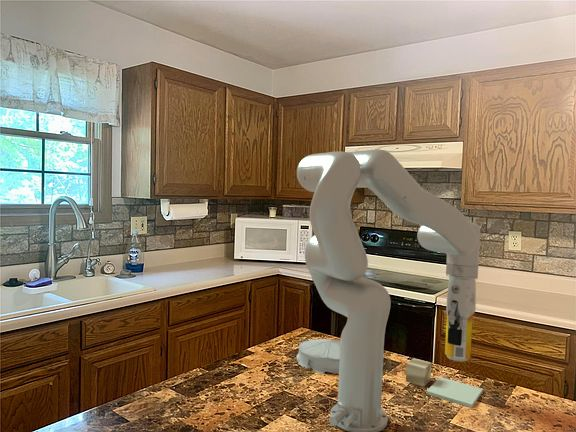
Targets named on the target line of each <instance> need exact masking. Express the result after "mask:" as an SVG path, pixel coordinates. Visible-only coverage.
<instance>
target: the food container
mask: <svg viewBox="0 0 576 432" xmlns="http://www.w3.org/2000/svg"><path fill="white" fill-rule="evenodd" d="M296 361H297V362H298V364H299V365H300V366H301V367H302V368H304V367H305V368H304V369H307V370H308V369H309V370H310V369H312V371H313V372H314V373H318V374H326V373H325V372H327V373H331V374H338V375H339V361H340V340H336V339H327V338H315V339H310V340H303V341H301V342H300V344H299V345H298V353H297V354H296Z"/></svg>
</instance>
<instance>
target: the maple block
mask: <svg viewBox="0 0 576 432" xmlns="http://www.w3.org/2000/svg"><path fill="white" fill-rule="evenodd" d="M431 371H432V362H430V361H427V360H426V361H425V360H422V359H418V358H415V357H413V358H412V359H411V360H409V361H408V362H407V363H406V370H405V382H408V383H411V384H415V385H416V386H417V385H418V386H421V387H425V386H426V385H428V383H429V382H430V381H431V376H432V375H431V373H432V372H431Z"/></svg>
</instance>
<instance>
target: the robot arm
mask: <svg viewBox="0 0 576 432" xmlns="http://www.w3.org/2000/svg"><path fill="white" fill-rule="evenodd" d="M296 178H297V181H298V183H299V184H300V186H301V187H302V188H303V189H305V190H306V191H307V192H311V193H313V196H312V199H311V202H310V207H309V214H308V215H309V221H310V225H311V229H312V231H313V234H314V235H313V236H311V237H310V238H309V240H308V241H307V243H306V245H305V249H304V261H305V264H306V267H307V270H308V272H309V274H310V276H311V279H312V281H313V283H314V286H315V287H316V290H317V292H318V294H319V297H320V298H321V301H323V303H324V304H325V306H326V307H327V308H329V309H330V310H332V311H334V312H336V313H337V314H340V315H342V316H344V317H346V318H347V321H346V323H345V325H344V327H343V329H342V331H341V335H340V339H339V341H340V361H339V374H338V386H337V387H338V389H337V403H336V404H334V405H333V406H332V407H331V409H330V411H329V412H330V413H329V414H330V415H329V416H330V417H329V418H328V422H329V425H331V426H332V427H336V426H337V427H338V428H341V429H342V430H343V431H347V432H381V431H383V430H384V429H385V428H386V427H387V425H388V421H389V419H388V415H387V413H386V412H385V411H384V410H383V409H382V393H383V390H382V389H383V371H384V369H383V368H384V351H385V350H384V346H385V335H386V328H387V327H386V326H387V322H388V319H389V315H390V310H391V306H392V305H391V303H392V302H391V301H392V299H391V297H390V296H391V295H390V293H389V292H388V290H387V288H385V287H384V286H383V284H381V283H380V282H377V281H376V280H374V279H370V278H367V277H363V276H364V275H365V274H366V272H367V270H368V266H369V262H368V261H369V259H368V255H367V253H366V250H365V247H364V245H363V242H362V240H361V237H360V235H359V233H358V230H357V228H356V225H355V222H354V220H353V217H352V212H351V202H352V198H353V196H354V193H355V191H356V189H357V188H358V189H360V188H361V189H362V188H364V189H369V190H370V191H372V193H374V194H375V196H377V197H378V198H379V200H380V201H381V202H383V204H384V205H385V206H387V208H388V209H390V212H391V211H392V213H393V214H394V215H395V216H396V217H397V216H398V217H399V218H401V219H403V220H406V221H408V222H410V223H414V224H416V225H420V227H419V229H418V230H417V237H416V238H417V241H418V243H419V246H421V247H423V248H424V249H425V250H428V251H432V252H436V253H442V254H446V262H445V263H446V264H445V265H446V267H445V276H446V277H447V278H448V283H447V291H446V292H447V295H446V305H445V306H446V309H445V311H446V316H447V315H448V320H449V321H448V322H449V324H448V343H449V344H453V345H458V346H460V345H461V341H462V330H461V324H462V318H464V319H467V318H469V317H470V311H471V307H470V306H471V304H473V315H474V314H475V312H476V307H477V306H476V302H477V299H476V298H477V295H476V294H477V292H476V287H477V285H476V280H477V279H479V278H478V277H479V261H480V260H479V259H480V243H481V241H480V240H481V226H480V225H479V224H478V223H477V222H472V221H471V222H470V220H469V219H468V218H467V217H466V216H465V214H463V213H462V212H461V210H459V209H458V208H456V207H455V206H454V205H452V204H451V203H449V202H447V201H446V200H443V199H442V198H441V197H438V196H437V195H435V194H433V193H431V191H430V192H429V191H428V190H426V189H425V188H423V187H422V186H421V184H419V182H417V180H415V178H414V177H413V176H412V175H411V174H410V172H408V170H407V169H406V168H405V167H404V166H403V165H402V164H401V163H400V162H399V160H397V158H396V157H395V156H394V155H393V154H392V153H390V152H389V151H387V150H385V149H379V148H378V149H367V150H358V151H342V150H341V151H339V150H338V151H329V152H320V153H312V154H310V155H309V154H308V155H306V156H305V157H304V158H302V159H301V161H300V162H299V163H298V165H297V169H296ZM449 311H450V312H449ZM456 313H457V314H460V317H458V316H456ZM455 319H459V321H458V322H457V320H455Z"/></svg>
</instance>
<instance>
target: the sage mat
mask: <svg viewBox="0 0 576 432" xmlns="http://www.w3.org/2000/svg"><path fill="white" fill-rule="evenodd" d="M483 392H484V388H482V387H478V386H474V385H470V384H467V383H463V382H460V381H456V380H452V379H448V378H445V377H442V376H440V377H438V379H437V380H436V381H434V382H433V384H432V385H431V386H430V387H429V388H428V389H427V390H426V393H425V394H426V395H428V396H432V397H435V398H439V399H442V400H445V401H448V402H451V403H454V404H456V405H457V404H458V405H460V406H464V407H467V408H471V409H472V408H473V407H474V405H475V404H476V403H477V401H478V400H479V398H480V397H481V395H482V394H483Z"/></svg>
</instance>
